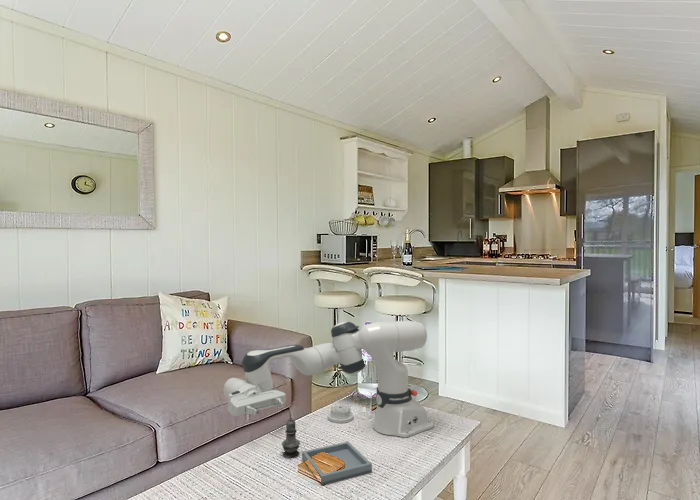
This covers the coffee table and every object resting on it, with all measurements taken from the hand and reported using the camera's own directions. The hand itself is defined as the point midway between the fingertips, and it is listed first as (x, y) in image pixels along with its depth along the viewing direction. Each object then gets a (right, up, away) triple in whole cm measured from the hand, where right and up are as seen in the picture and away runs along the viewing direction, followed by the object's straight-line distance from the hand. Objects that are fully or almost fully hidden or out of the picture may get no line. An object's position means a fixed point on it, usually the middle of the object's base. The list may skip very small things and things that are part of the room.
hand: (269, 408), depth 151 cm
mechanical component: (+24, -11, +20) cm, 33 cm away
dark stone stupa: (+9, -11, -9) cm, 17 cm away
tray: (+23, -12, -16) cm, 30 cm away
